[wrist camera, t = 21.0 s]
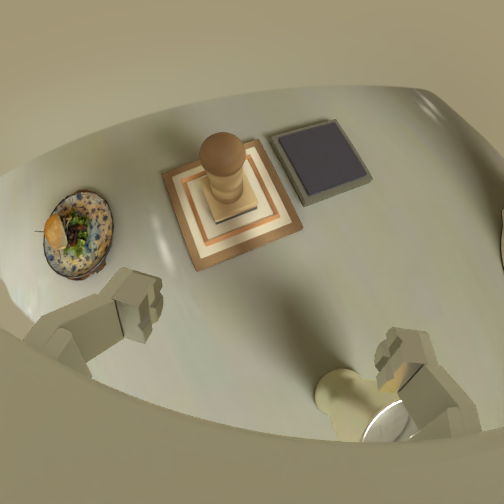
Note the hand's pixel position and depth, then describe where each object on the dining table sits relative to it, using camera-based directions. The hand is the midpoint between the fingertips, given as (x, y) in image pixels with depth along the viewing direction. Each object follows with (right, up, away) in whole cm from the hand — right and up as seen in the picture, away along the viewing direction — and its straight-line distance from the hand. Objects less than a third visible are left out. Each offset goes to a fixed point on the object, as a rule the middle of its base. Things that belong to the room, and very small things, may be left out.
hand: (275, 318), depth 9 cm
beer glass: (+9, -14, +20) cm, 26 cm away
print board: (-3, +8, +25) cm, 26 cm away
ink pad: (+8, +14, +26) cm, 31 cm away
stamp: (-3, +8, +24) cm, 25 cm away
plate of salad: (-23, +4, +24) cm, 34 cm away
